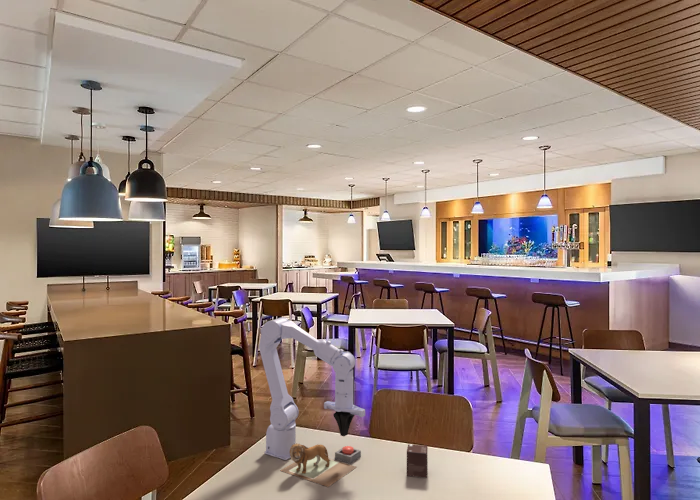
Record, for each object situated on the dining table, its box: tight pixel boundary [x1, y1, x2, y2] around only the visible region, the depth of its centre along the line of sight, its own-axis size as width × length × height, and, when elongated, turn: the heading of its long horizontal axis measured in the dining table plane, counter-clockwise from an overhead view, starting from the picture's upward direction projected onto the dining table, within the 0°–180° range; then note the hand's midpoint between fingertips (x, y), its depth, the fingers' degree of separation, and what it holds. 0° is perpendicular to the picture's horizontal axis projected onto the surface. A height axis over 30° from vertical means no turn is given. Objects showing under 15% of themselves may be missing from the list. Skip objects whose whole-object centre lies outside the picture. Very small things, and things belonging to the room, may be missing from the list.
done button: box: [341, 445, 355, 455], centre depth 154 cm, size 4×4×2 cm
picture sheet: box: [279, 457, 357, 488], centre depth 146 cm, size 18×15×1 cm
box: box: [406, 443, 429, 479], centre depth 144 cm, size 6×6×7 cm
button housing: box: [334, 448, 362, 464], centre depth 154 cm, size 6×6×2 cm
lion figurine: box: [290, 443, 330, 474], centre depth 146 cm, size 15×5×9 cm, turn 131°
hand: (344, 435), depth 151 cm, fingers closed
